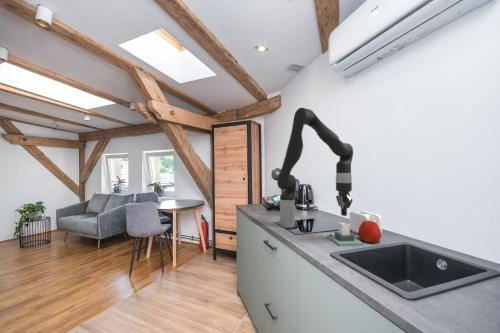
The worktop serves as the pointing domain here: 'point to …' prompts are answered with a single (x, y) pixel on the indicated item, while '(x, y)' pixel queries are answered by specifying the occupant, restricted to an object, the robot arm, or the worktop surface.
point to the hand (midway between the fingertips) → (344, 215)
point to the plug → (344, 228)
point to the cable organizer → (358, 218)
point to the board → (344, 240)
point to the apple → (369, 232)
